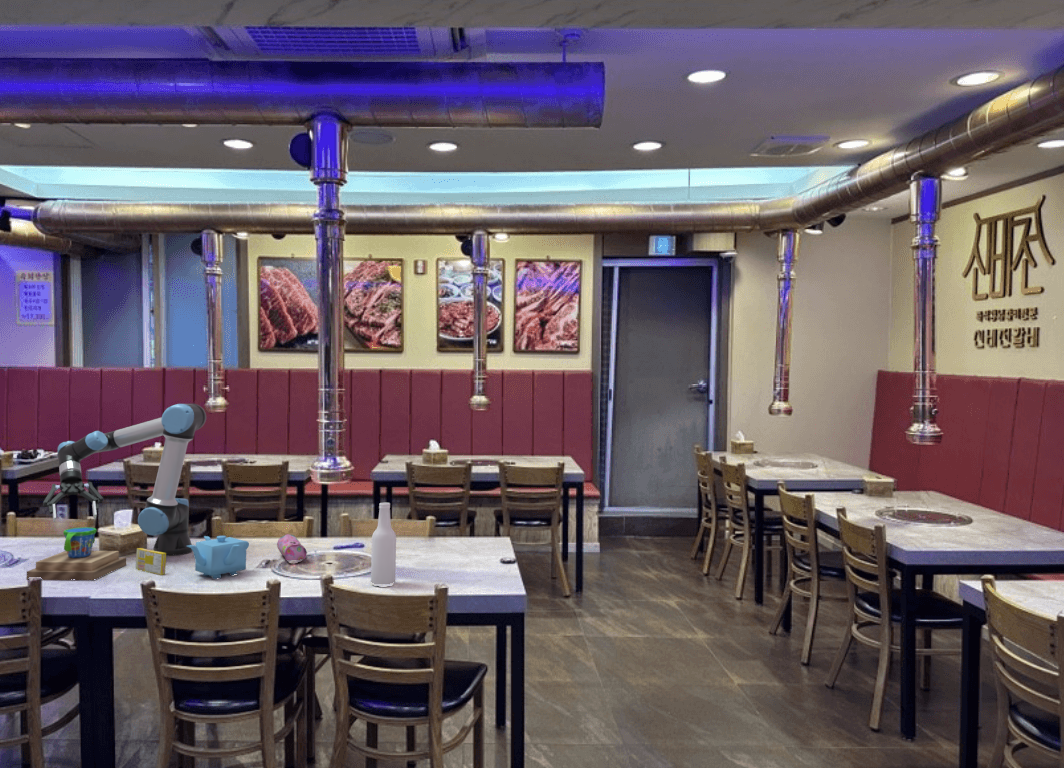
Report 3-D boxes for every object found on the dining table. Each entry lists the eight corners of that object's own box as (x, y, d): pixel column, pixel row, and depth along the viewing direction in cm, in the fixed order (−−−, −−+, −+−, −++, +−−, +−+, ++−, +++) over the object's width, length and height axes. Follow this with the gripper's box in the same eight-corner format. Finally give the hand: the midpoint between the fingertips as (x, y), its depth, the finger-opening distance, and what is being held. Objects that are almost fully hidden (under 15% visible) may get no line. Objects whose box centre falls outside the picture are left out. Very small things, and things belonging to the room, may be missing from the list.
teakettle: (251, 569, 304) (252, 531, 304) (238, 581, 285) (239, 541, 285) (201, 569, 302) (202, 531, 302) (185, 581, 283) (186, 541, 283)
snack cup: (81, 551, 302) (81, 525, 302) (106, 552, 300) (106, 526, 300) (51, 560, 286) (52, 532, 286) (77, 561, 285) (78, 534, 285)
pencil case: (307, 564, 314) (307, 541, 314) (284, 566, 310) (284, 543, 310) (298, 553, 333) (299, 532, 333) (276, 554, 329) (276, 533, 329)
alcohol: (396, 581, 289) (398, 501, 289) (393, 587, 280) (395, 505, 280) (373, 581, 288) (374, 501, 288) (368, 587, 280) (370, 504, 280)
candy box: (166, 574, 293) (166, 552, 293) (160, 575, 291) (161, 553, 291) (140, 568, 301) (140, 547, 301) (135, 569, 299) (135, 548, 299)
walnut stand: (126, 565, 306) (126, 549, 306) (93, 580, 282) (94, 564, 282) (64, 564, 305) (64, 549, 305) (26, 579, 281) (26, 563, 281)
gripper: (104, 479, 320) (110, 520, 309) (33, 482, 305) (36, 527, 293) (106, 467, 316) (112, 509, 304) (34, 470, 301) (37, 515, 289)
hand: (75, 518), depth 299 cm, fingers open, 13 cm apart
